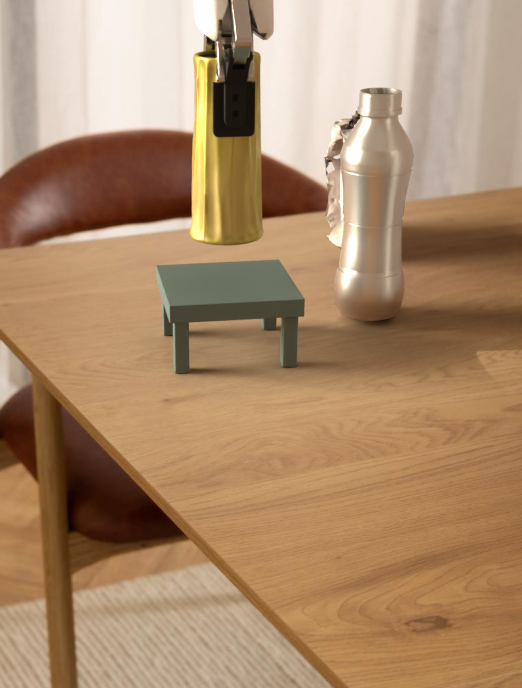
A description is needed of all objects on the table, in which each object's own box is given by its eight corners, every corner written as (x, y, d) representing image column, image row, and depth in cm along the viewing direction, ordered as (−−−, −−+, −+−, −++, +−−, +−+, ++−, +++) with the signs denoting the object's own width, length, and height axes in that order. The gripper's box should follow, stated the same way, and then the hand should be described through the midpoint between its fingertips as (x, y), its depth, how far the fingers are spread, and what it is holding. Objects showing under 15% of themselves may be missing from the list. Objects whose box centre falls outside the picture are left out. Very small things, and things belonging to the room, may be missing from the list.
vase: (239, 222, 101) (241, 46, 95) (277, 239, 97) (281, 55, 90) (176, 232, 99) (173, 52, 92) (212, 250, 94) (211, 61, 87)
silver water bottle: (337, 330, 106) (348, 98, 97) (327, 305, 112) (337, 85, 103) (408, 328, 106) (427, 97, 97) (395, 304, 112) (411, 84, 103)
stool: (277, 323, 108) (279, 259, 105) (302, 368, 98) (305, 298, 95) (157, 329, 107) (155, 265, 104) (170, 375, 97) (169, 305, 94)
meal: (380, 264, 123) (389, 136, 117) (339, 265, 123) (346, 136, 117) (357, 226, 136) (364, 109, 130) (320, 226, 136) (325, 109, 130)
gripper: (304, -130, 78) (295, 149, 87) (258, -131, 93) (255, 107, 102) (191, -129, 77) (194, 153, 86) (164, -130, 92) (168, 110, 101)
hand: (227, 125), depth 94 cm, fingers closed on vase, 5 cm apart
